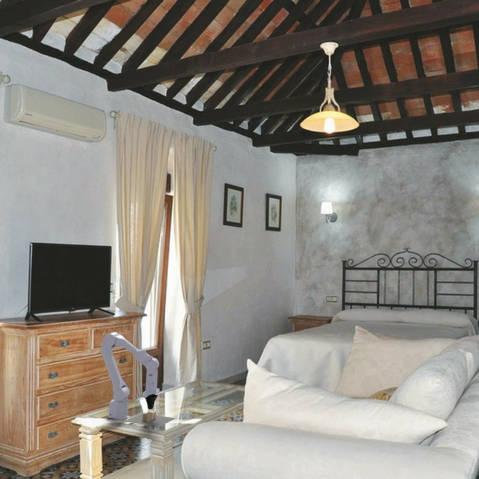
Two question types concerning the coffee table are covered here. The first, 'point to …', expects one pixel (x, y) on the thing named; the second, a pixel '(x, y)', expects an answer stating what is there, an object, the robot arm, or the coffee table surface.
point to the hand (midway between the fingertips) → (150, 409)
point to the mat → (155, 422)
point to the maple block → (149, 415)
